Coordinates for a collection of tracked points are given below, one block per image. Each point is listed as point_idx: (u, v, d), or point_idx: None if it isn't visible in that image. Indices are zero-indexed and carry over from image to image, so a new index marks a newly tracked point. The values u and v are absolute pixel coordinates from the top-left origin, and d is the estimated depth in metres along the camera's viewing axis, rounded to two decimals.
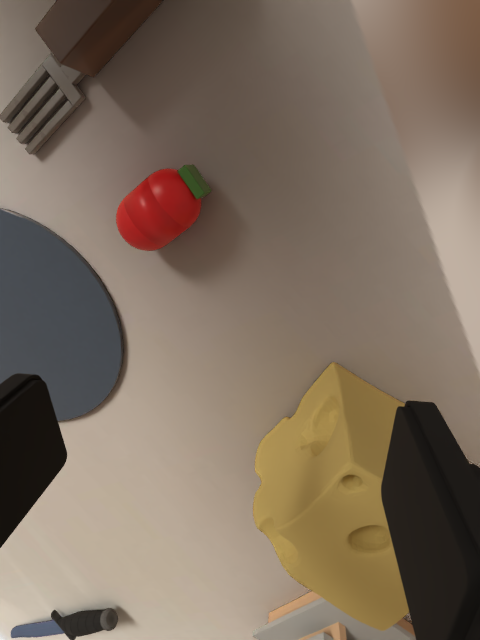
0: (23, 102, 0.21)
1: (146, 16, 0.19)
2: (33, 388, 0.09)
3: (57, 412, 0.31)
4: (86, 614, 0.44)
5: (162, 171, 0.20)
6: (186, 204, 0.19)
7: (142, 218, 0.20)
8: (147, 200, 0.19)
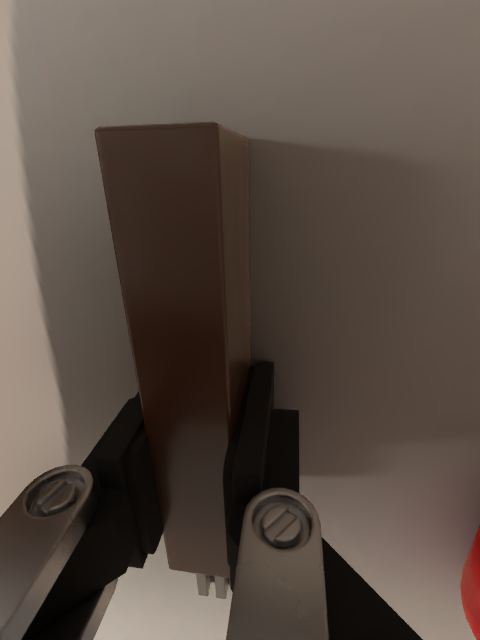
0: None
1: (250, 365, 0.10)
2: None
3: None
4: None
5: None
6: None
7: None
8: None
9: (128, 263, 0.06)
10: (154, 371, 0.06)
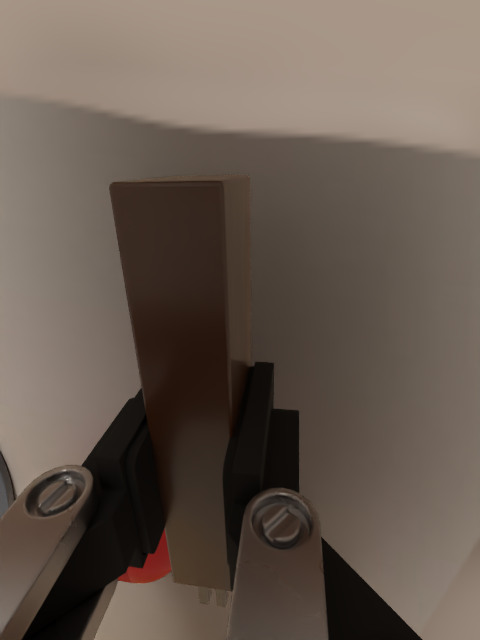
0: None
1: None
2: None
3: None
4: None
5: None
6: (163, 575, 0.13)
7: None
8: None
9: (138, 303, 0.06)
10: (161, 400, 0.07)
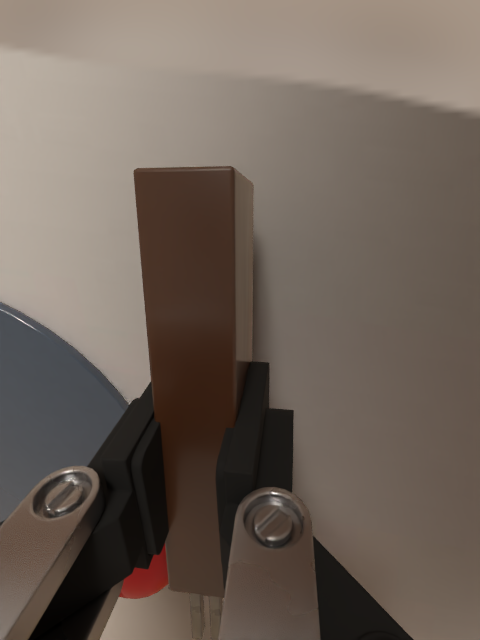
0: (202, 597, 0.13)
1: None
2: None
3: None
4: None
5: None
6: (156, 591, 0.13)
7: None
8: None
9: (152, 279, 0.07)
10: (168, 378, 0.07)
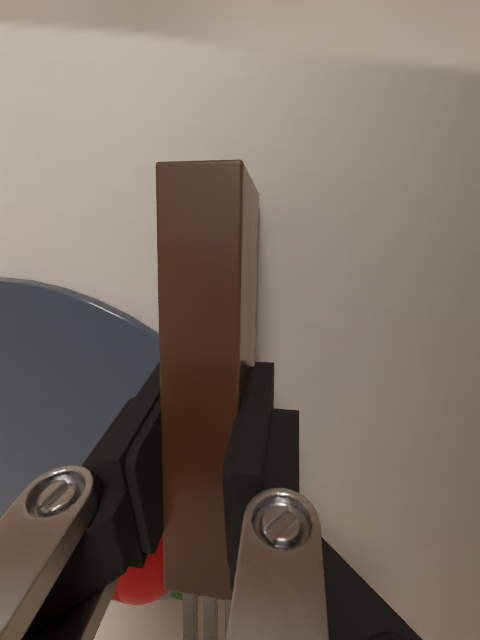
0: (196, 623, 0.12)
1: None
2: None
3: None
4: None
5: None
6: (151, 596, 0.12)
7: None
8: None
9: (166, 259, 0.07)
10: (176, 354, 0.08)
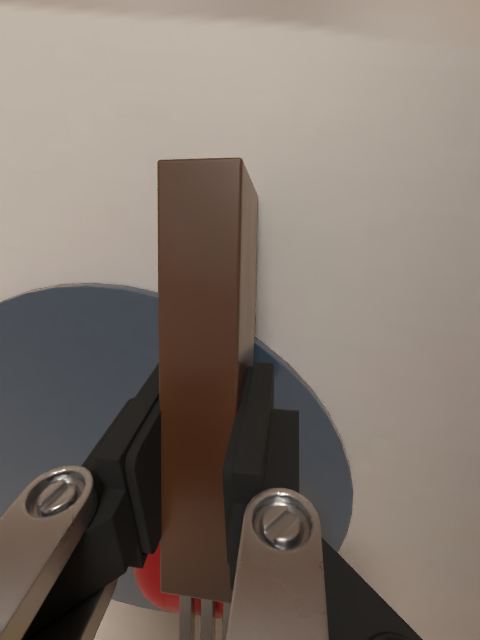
0: (193, 633, 0.12)
1: None
2: None
3: None
4: None
5: None
6: None
7: None
8: None
9: (167, 254, 0.07)
10: (175, 349, 0.08)
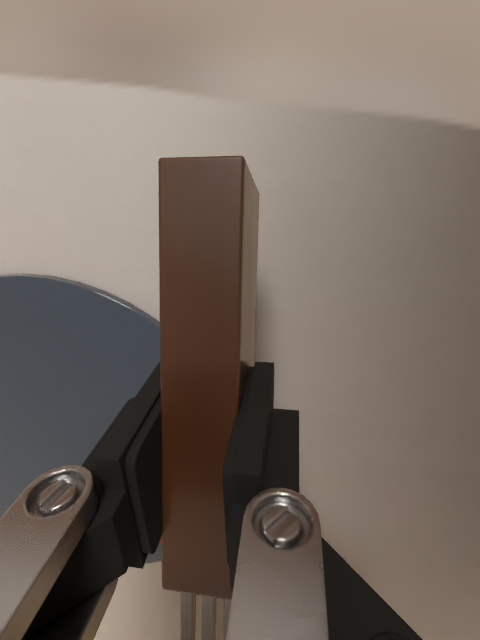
0: (194, 628, 0.12)
1: None
2: None
3: None
4: None
5: None
6: None
7: None
8: None
9: (168, 253, 0.07)
10: (176, 348, 0.08)
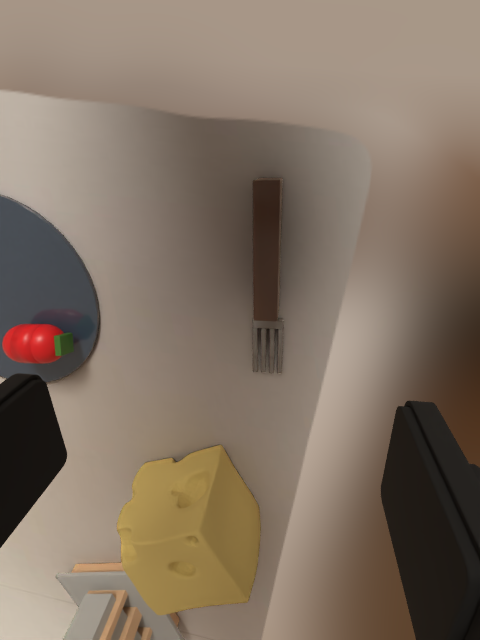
0: (257, 352, 0.31)
1: (280, 254, 0.27)
2: (33, 388, 0.09)
3: None
4: None
5: (43, 354, 0.30)
6: None
7: None
8: (36, 362, 0.32)
9: (256, 211, 0.23)
10: (258, 242, 0.24)
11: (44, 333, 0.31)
